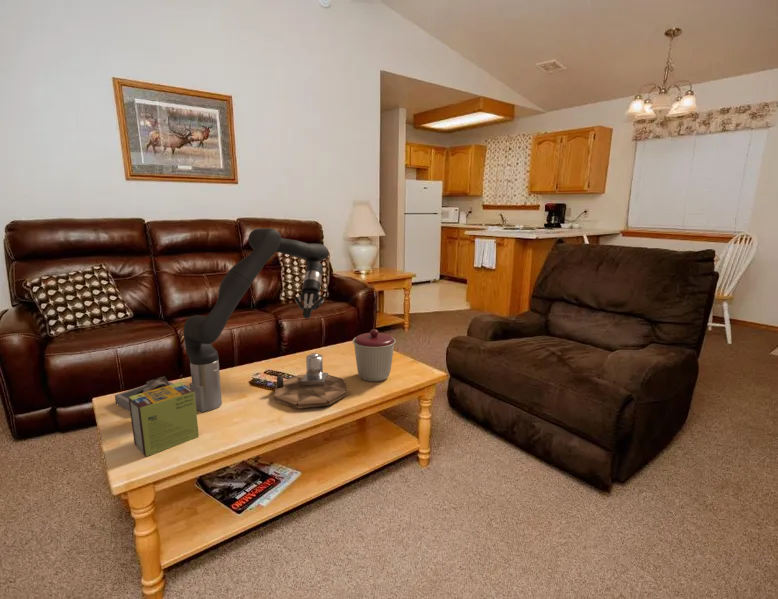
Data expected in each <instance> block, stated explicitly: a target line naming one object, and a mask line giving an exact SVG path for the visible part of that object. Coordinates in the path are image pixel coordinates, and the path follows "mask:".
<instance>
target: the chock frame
mask: <svg viewBox="0 0 778 599" xmlns="http://www.w3.org/2000/svg"><path fill="white" fill-rule="evenodd" d="M167 382H168V384H169V385H172V384H174V383H173V382H171V381H168V380H167ZM146 387H148V386H147V383H146V384H144V385H141V386H138V387H135V388H132V389H130V390H129V389H128V390H126V391H123V392H121V393H117V394H114V399H115V401H114V402H115V405H117V404H118V405H117V406H119V407H121V408H122V409H125V410H127V411H129V412H130V406H129V399H128V397H130V396H134V395H136V394H137V393H138V392H140V391H142V390H143V389H145V388H146Z"/></svg>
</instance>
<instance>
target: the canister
mask: <svg viewBox="0 0 778 599" xmlns="http://www.w3.org/2000/svg"><path fill="white" fill-rule="evenodd" d="M396 342H397V341H396V339H395V337H393V336H391V335H389V334H387V333H382V332H379V330H378V329H375V328H374V329H371V330H370V331H369V332H366V333H361V334H359V335H357V336H355V337H354V338H353V339H352V343H353V346H354V355H355V360H356V361H355V362H356V369H357V374H358V376H359V377H360V378H361V380H364V381H367V382H381V381H384V380H386V379H387V378H389V376H390V373H391V369H392V363H393V356H394V349H395V348H394V346H395V344H396Z"/></svg>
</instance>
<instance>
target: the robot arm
mask: <svg viewBox="0 0 778 599" xmlns="http://www.w3.org/2000/svg"><path fill="white" fill-rule="evenodd" d="M248 244H249V245H250V247H251V249H253V251H251V252H250V253H249V254H248V255H247V256H245V257H244V258H243V259H241V260H239V261H238V262H237V263H235V264H234V265H233V266H232V267H231V268H230V269H229V271H228V272H227V273H226V274H225V275H224V277H223V278H222V280H221V281H220V283H219V288H218V295H217V300H216V303H215V305H214V306H213V308H211V310H210V312H209V313H208V314H207V315H206V316H205V315H199V314H195V315H191V316H190V317H188V318H187V319H186V320H185V323H184V325H183V338H184V345H185V346H184V347H185V352H186V355H187V356H188V358H189V367H190V375H191V376H190V378H191V382H189V388H191V389H192V390H194V391H195V402H196V411H197V412H200V413H204V412H209V411H213V410H216V409H218V408H220V407H221V406H222V405H223V400H222V399H223V398H222V386H221V375H220V373H221V372H220V363H219V353H218V351H217V349H215V347H214V346H213V345H212V344H213V343H214V342H216V341H217V340H218V339H219V337H220V336H221V334H222V332H223V331H224V329H225V326H226V325H227V322H228V321H229V319H230V317H231V316H232V314H233V312H234V311H235V309H236V308H237V306H238V304H239V303H240V301H241V300H242V298H243V297H244V296H245V294H246V293H247V291H248V290H249V288H250V287H251V285H252V284H253V282H254V281H255V279H256V278H257V276H258V275H259V273H260V272H261V271H262V269H263V268H264V266H266V264H267V262H268V261H270V259H271V258H272V257H273V256H274V254H275V253H280V254H282V255H283V254H284V255H288V256H291V257H295V258H299V259H305V262H306V270H305V274H304V275H305V276H304V278H303V281H302V282H303V284H302V288H301V293H300V294H299V296H294V300H295V303H296V305H297V306H298V307H299V309H300V310H301V311H302V316H303V318H304V319H307V320H308V319H310V318H311V317H312V311H317V310H318V308H320V307H321V306H322V305H323V304H324V303H325V298H324V297H322V296H321V295H320V292H321V286H322V275H323V269H324V268H323V264H322V263H321V262H322V261H325V260H326V259H327V258H328V256H329V254H330V253H329V249H328V248H327V247H326V245H324V244H322V243H315V242H313V243H307V242H304V241H300V240H297V239H290V238H284V237H282V236H281V234H280V232H279V231H278V230H276V229H273V228H268V227H267V228H264V227H263V228H262V227H261V228H256V229H253V230H251V231H250V233H249V235H248ZM301 301H302V302H303V303H302V302H301Z"/></svg>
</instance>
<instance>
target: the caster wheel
mask: <svg viewBox="0 0 778 599" xmlns="http://www.w3.org/2000/svg"><path fill="white" fill-rule="evenodd" d="M167 381H168V379H167V377H166V376H161V377H158V378H155V379H151V380H147V381H146V382H145V383H146V384H147V386H148V387H146V388H145V389H143V390H142V391H140V392H138V393H137V394H140V393H144V392H148V391H151V390H154V389H158V388H161V387H165V386H169V384H168V382H169V381H168V382H167ZM137 394H136V395H137Z"/></svg>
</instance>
